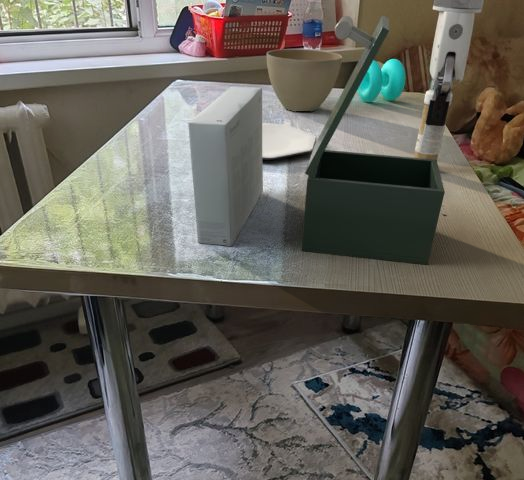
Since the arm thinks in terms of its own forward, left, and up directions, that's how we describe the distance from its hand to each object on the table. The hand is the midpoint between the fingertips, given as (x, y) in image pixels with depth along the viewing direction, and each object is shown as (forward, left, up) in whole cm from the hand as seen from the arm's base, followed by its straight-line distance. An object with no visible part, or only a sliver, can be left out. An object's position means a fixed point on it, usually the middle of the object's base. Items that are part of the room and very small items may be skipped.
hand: (433, 120), depth 97 cm
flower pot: (+28, -40, -9) cm, 50 cm away
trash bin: (+10, +33, -9) cm, 36 cm away
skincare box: (+30, +30, -9) cm, 43 cm away
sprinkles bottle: (0, 0, -9) cm, 9 cm away
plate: (+33, -6, -9) cm, 35 cm away
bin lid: (+14, +33, +9) cm, 37 cm away
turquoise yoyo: (+9, -55, -9) cm, 56 cm away
